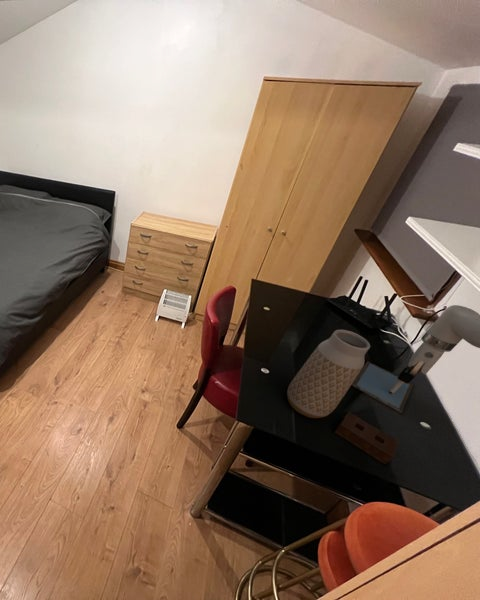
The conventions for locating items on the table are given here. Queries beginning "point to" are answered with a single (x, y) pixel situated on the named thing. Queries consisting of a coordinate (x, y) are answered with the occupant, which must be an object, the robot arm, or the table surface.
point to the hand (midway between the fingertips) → (403, 379)
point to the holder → (367, 438)
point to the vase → (328, 374)
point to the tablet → (382, 386)
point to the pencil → (396, 386)
